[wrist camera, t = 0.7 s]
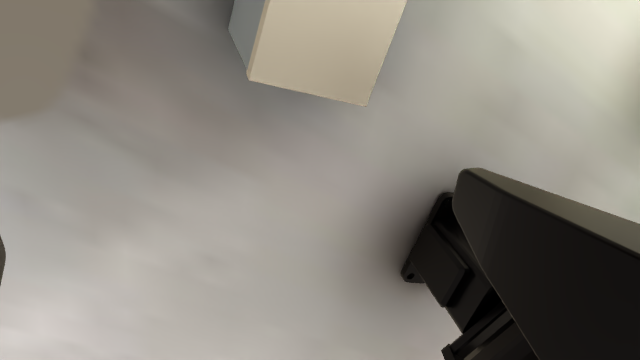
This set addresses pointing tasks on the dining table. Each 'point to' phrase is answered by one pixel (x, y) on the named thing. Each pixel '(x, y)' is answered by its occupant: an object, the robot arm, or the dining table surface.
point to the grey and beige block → (316, 44)
